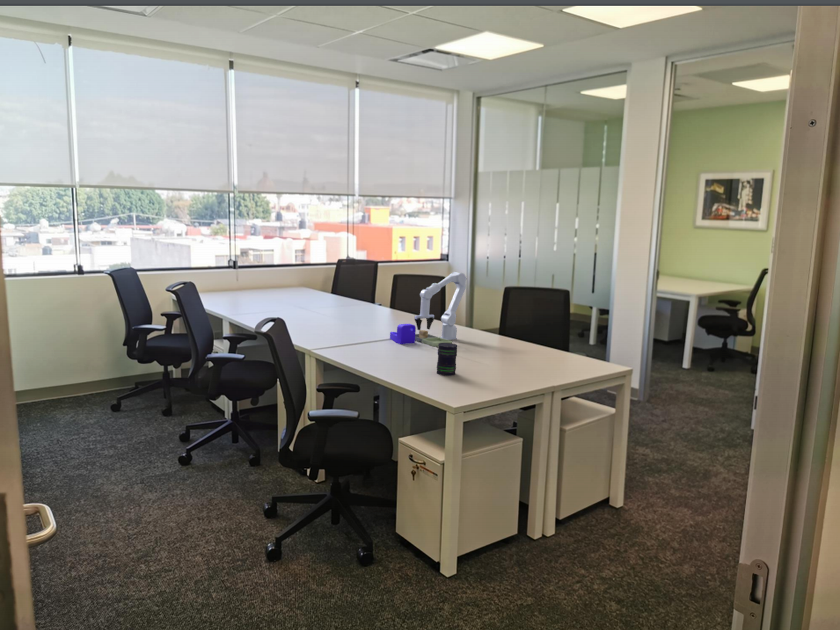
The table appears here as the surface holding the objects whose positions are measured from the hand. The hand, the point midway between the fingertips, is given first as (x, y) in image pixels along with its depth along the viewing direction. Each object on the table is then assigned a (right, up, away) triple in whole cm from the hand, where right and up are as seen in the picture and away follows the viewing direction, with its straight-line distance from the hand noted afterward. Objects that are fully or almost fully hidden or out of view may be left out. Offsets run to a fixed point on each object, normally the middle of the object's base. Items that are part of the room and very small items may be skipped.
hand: (423, 329), depth 401 cm
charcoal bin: (0, -7, +1) cm, 7 cm away
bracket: (-15, -7, -7) cm, 18 cm away
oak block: (0, -6, +1) cm, 6 cm away
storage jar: (+11, -21, -82) cm, 85 cm away
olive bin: (+8, -9, -10) cm, 15 cm away
